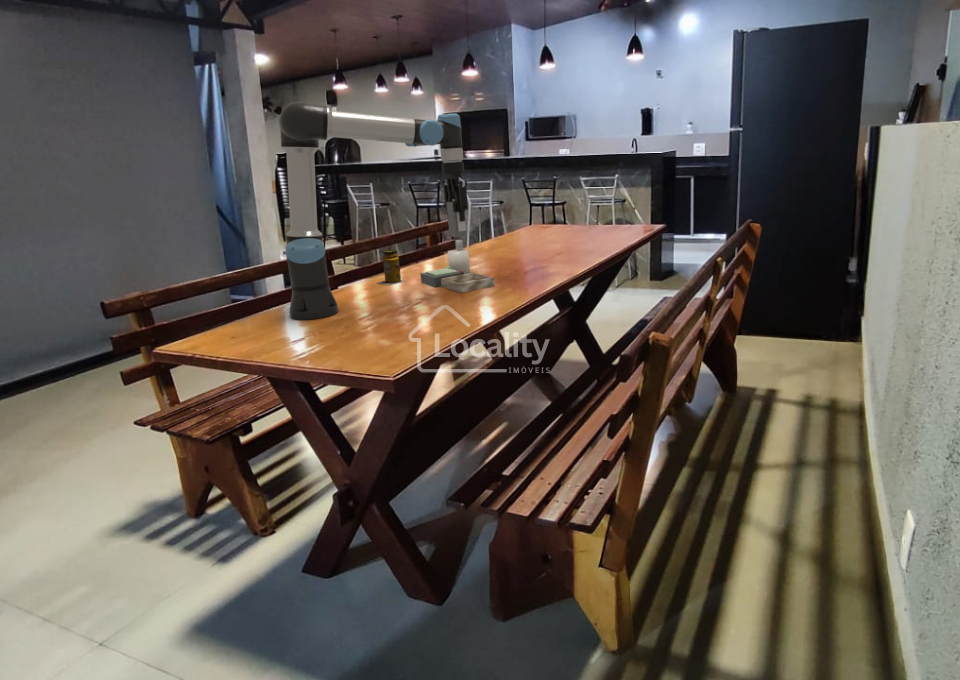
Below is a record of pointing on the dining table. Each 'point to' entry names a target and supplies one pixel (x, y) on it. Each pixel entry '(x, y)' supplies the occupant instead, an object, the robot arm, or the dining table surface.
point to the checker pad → (441, 272)
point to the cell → (453, 220)
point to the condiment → (391, 268)
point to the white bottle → (459, 258)
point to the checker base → (437, 278)
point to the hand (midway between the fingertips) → (458, 230)
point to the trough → (467, 282)
